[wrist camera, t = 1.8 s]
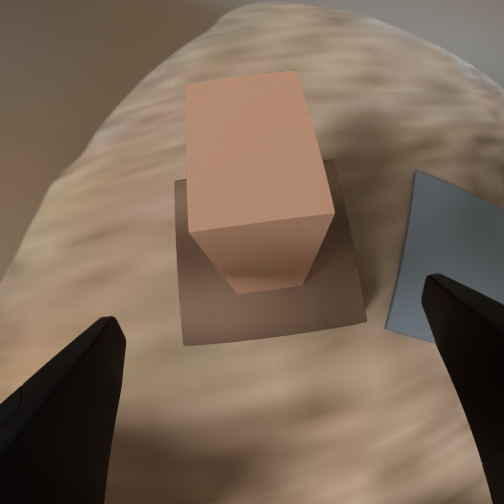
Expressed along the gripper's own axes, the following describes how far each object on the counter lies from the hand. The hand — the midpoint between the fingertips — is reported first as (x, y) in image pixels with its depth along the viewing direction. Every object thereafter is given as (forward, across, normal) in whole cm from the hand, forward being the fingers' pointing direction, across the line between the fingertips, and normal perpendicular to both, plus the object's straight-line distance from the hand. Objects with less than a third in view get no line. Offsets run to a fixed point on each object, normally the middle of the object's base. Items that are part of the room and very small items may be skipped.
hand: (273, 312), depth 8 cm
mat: (+10, -14, +7) cm, 18 cm away
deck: (+11, 0, +5) cm, 12 cm away
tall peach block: (+9, 0, +3) cm, 10 cm away
